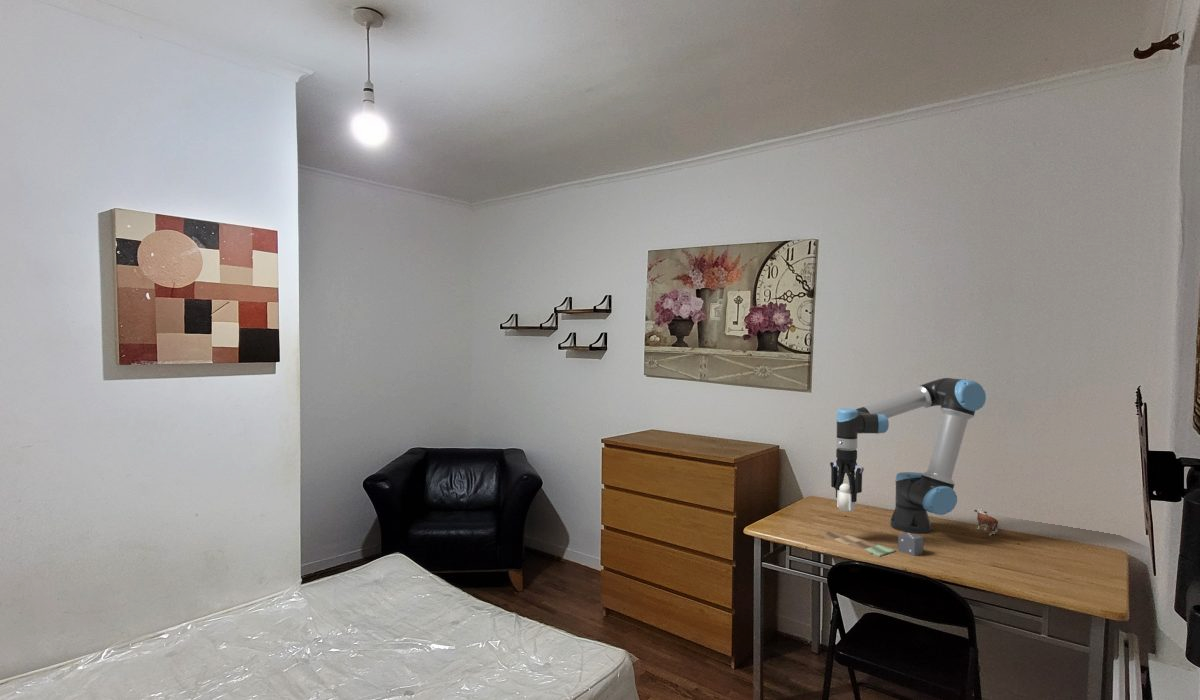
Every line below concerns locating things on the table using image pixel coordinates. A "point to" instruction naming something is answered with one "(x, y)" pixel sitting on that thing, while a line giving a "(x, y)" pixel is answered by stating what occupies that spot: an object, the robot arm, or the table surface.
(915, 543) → the die
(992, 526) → the bull figurine
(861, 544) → the lane
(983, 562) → the table surface
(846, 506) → the pawn
